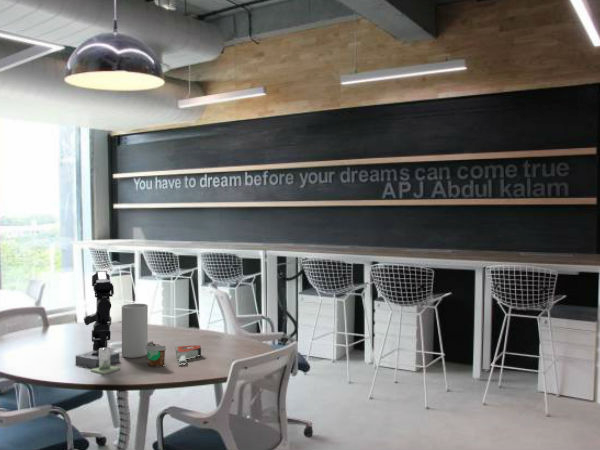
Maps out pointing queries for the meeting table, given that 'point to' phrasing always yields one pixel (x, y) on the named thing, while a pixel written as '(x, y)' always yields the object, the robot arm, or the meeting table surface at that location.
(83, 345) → the meeting table surface
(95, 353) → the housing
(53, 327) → the meeting table surface
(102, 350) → the silver upright cylinder
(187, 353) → the grey and red box
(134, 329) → the cylinder vase
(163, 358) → the food container
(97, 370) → the mat
